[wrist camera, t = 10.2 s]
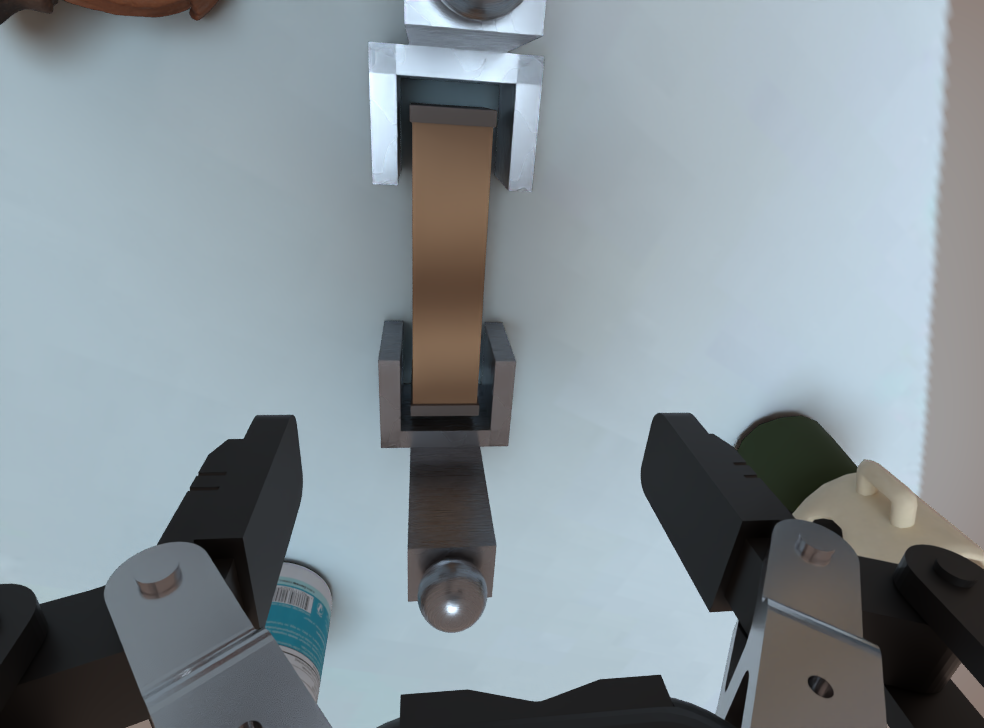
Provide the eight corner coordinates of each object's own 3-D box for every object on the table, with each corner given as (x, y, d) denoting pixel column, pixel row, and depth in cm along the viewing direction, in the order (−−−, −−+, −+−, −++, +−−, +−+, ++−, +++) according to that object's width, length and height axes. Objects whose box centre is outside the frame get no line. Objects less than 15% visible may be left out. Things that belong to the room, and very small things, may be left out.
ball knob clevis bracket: (375, -32, 23) (318, -187, 10) (529, -16, 24) (654, -141, 11) (387, 440, 33) (367, 656, 21) (493, 439, 34) (535, 645, 22)
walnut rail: (411, 102, 25) (409, 104, 21) (483, 107, 26) (497, 110, 21) (412, 368, 31) (410, 416, 27) (470, 368, 32) (478, 415, 27)
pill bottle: (237, 635, 40) (157, 871, 28) (213, 561, 36) (109, 794, 24) (341, 624, 40) (308, 849, 28) (327, 551, 37) (282, 771, 25)
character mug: (719, 396, 35) (867, 547, 23) (826, 366, 35) (1027, 502, 23) (727, 517, 40) (851, 690, 28) (820, 492, 40) (982, 654, 28)
